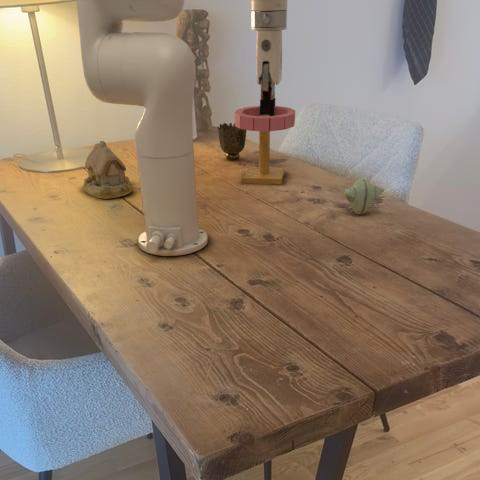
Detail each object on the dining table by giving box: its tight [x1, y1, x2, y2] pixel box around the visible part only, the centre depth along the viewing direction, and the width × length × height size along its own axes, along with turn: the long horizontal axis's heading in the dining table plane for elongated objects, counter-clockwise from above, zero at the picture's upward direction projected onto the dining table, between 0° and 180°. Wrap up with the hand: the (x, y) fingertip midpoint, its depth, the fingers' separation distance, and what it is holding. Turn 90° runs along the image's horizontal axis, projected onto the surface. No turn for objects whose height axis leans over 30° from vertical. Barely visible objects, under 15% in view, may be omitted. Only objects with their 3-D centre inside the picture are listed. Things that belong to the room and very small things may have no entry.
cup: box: [216, 122, 247, 162], centre depth 145 cm, size 8×7×8 cm
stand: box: [242, 115, 286, 185], centre depth 129 cm, size 9×9×13 cm
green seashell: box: [344, 177, 385, 216], centre depth 111 cm, size 8×4×7 cm, turn 103°
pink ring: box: [234, 105, 296, 132], centre depth 126 cm, size 13×13×3 cm
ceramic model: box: [82, 140, 134, 200], centre depth 125 cm, size 14×11×10 cm
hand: (267, 117), depth 131 cm, fingers closed on pink ring
